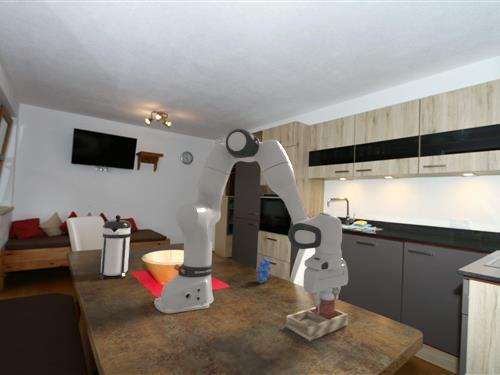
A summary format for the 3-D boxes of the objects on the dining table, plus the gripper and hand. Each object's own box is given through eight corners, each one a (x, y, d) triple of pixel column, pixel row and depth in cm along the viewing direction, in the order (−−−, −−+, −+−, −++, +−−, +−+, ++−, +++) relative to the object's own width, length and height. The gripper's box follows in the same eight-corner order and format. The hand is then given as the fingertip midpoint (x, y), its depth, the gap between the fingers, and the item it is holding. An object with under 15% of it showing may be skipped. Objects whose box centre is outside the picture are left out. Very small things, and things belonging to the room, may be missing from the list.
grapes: (261, 278, 138) (262, 255, 138) (273, 280, 134) (274, 257, 135) (249, 283, 128) (250, 258, 128) (261, 286, 124) (263, 260, 125)
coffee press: (138, 274, 134) (142, 215, 135) (107, 282, 120) (112, 216, 122) (119, 268, 143) (122, 213, 145) (88, 275, 130) (92, 214, 131)
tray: (310, 340, 77) (310, 328, 78) (286, 326, 85) (286, 315, 86) (347, 324, 89) (347, 314, 89) (323, 313, 97) (323, 304, 97)
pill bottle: (338, 321, 89) (339, 287, 89) (325, 325, 85) (326, 290, 86) (323, 313, 94) (324, 282, 94) (311, 317, 90) (312, 284, 91)
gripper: (338, 256, 99) (336, 293, 99) (300, 261, 87) (299, 304, 87) (353, 259, 94) (352, 298, 94) (316, 266, 82) (314, 311, 82)
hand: (326, 301), depth 90 cm, fingers open, 8 cm apart
